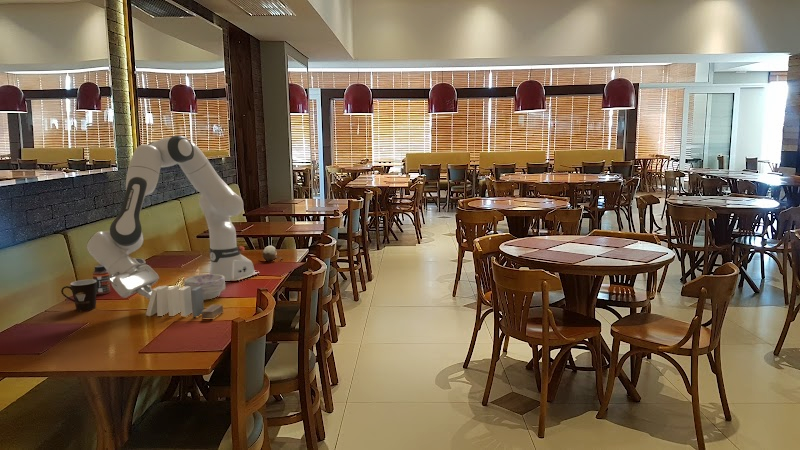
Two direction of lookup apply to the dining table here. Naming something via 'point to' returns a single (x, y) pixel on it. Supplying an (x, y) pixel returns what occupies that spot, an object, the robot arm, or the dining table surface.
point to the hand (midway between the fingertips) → (152, 297)
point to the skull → (270, 253)
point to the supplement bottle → (101, 280)
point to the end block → (212, 311)
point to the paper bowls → (207, 284)
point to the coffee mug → (83, 294)
